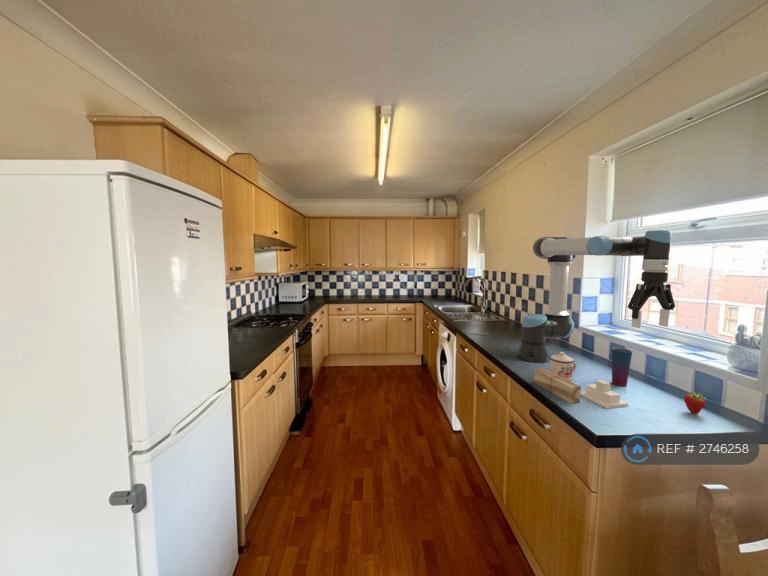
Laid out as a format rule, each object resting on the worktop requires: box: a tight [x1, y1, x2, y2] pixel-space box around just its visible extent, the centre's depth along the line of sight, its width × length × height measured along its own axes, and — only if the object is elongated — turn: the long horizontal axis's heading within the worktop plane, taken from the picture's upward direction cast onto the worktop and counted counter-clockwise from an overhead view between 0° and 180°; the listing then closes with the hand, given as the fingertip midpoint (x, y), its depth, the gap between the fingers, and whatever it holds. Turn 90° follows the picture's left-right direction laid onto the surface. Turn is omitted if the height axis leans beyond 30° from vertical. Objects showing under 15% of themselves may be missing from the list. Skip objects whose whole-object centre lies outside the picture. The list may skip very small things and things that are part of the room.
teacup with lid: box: [549, 351, 577, 382], centre depth 139 cm, size 12×9×12 cm
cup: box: [611, 347, 633, 388], centre depth 132 cm, size 7×7×15 cm
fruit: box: [683, 390, 707, 415], centre depth 107 cm, size 5×5×8 cm
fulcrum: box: [580, 379, 629, 409], centre depth 117 cm, size 12×10×7 cm
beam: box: [532, 367, 582, 404], centre depth 124 cm, size 4×20×6 cm, turn 13°
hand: (649, 326), depth 119 cm, fingers open, 13 cm apart
